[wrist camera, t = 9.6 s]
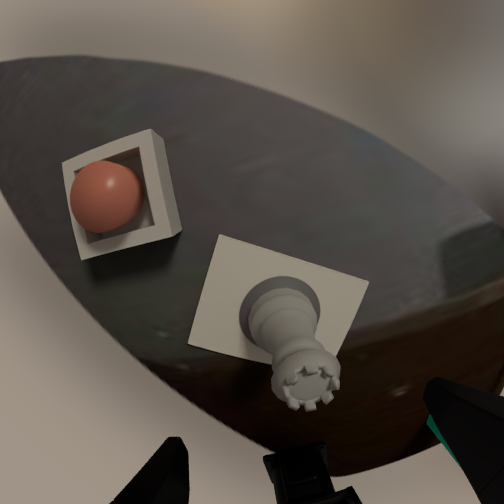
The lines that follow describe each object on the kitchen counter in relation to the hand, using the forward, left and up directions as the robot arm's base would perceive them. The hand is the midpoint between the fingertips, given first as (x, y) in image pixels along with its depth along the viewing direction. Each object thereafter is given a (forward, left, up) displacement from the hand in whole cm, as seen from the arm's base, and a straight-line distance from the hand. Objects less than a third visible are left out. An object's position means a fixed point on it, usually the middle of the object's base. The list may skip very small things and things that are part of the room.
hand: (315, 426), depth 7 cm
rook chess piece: (-1, 0, -11) cm, 11 cm away
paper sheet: (-1, 0, -11) cm, 11 cm away
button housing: (+9, +8, -11) cm, 16 cm away
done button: (+9, +8, -9) cm, 15 cm away
